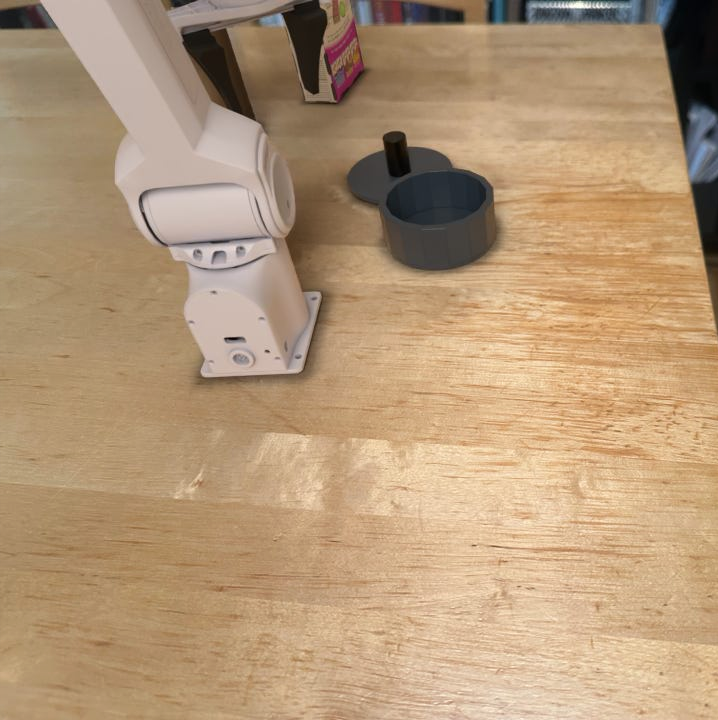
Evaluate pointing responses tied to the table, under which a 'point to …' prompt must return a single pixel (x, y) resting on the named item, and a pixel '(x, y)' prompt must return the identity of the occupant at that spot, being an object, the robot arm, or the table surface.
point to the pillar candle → (234, 73)
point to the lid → (391, 166)
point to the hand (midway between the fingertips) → (275, 102)
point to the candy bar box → (335, 54)
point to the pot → (438, 218)
